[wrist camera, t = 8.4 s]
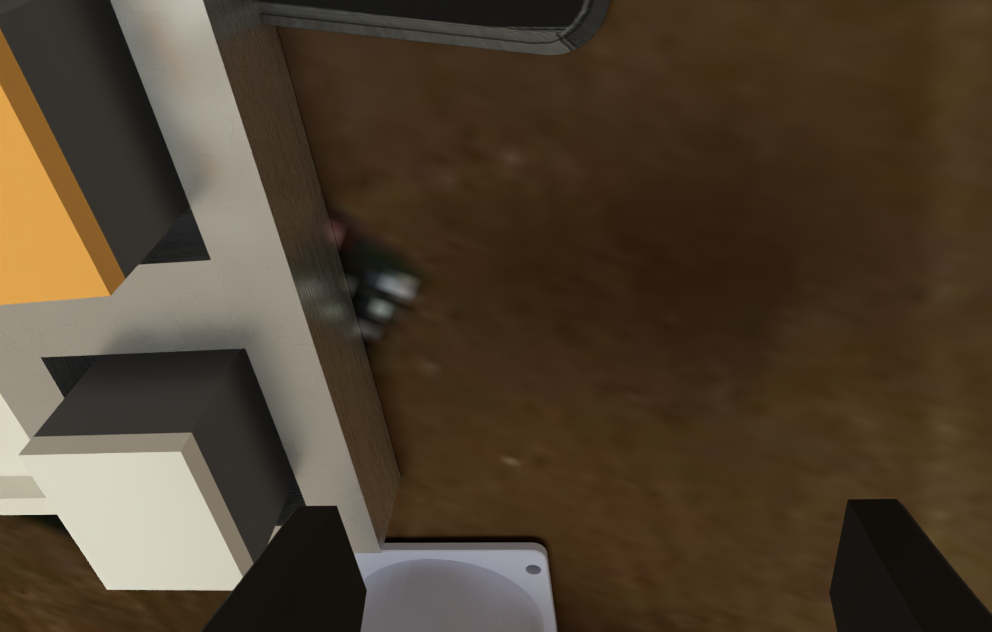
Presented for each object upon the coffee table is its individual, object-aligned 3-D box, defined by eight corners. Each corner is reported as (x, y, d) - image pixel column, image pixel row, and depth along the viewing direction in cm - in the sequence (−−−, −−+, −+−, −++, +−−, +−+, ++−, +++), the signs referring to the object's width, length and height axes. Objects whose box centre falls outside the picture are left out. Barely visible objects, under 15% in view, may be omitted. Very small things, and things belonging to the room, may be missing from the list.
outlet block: (400, 477, 25) (381, 553, 23) (146, 481, 27) (103, 553, 24) (223, -165, 15) (153, -151, 13) (-175, -107, 16) (-306, -83, 14)
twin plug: (306, 448, 24) (249, 590, 20) (186, 451, 25) (107, 589, 21) (259, 317, 21) (180, 451, 17) (125, 323, 22) (17, 455, 18)
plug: (214, 179, 19) (110, 295, 15) (67, 195, 20) (-72, 310, 15) (128, -41, 16) (-30, 27, 12) (-40, -14, 17) (-245, 59, 13)
